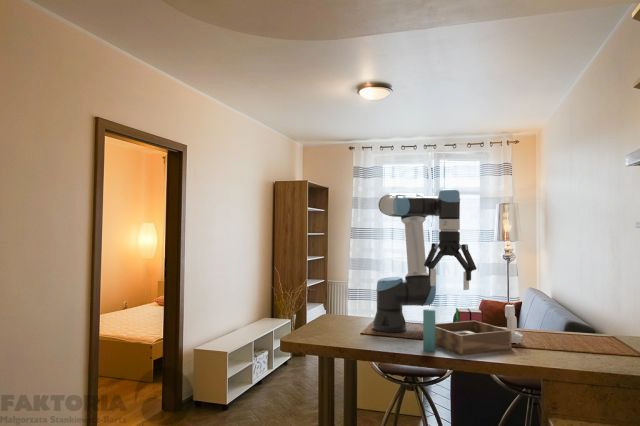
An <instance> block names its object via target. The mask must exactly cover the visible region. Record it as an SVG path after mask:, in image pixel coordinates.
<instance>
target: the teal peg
mask: <svg viewBox="0 0 640 426" xmlns="http://www.w3.org/2000/svg"><path fill="white" fill-rule="evenodd" d="M422 312H423V313H422V314H423V315H422V316H423V317H422V318H423V319H422V321H423V322H422V323H423V326H422V327H423V328H422V329H423V331H422V332H423V333H422V337H423V341H422V342H423V343H422V345H423V348H422V351H423V352H425V353H436V349H437V347H436V344H435V324H436V310H435V309H427V308H426V309H423V311H422Z"/></svg>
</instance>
